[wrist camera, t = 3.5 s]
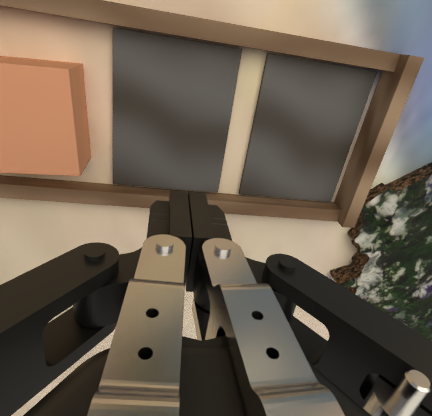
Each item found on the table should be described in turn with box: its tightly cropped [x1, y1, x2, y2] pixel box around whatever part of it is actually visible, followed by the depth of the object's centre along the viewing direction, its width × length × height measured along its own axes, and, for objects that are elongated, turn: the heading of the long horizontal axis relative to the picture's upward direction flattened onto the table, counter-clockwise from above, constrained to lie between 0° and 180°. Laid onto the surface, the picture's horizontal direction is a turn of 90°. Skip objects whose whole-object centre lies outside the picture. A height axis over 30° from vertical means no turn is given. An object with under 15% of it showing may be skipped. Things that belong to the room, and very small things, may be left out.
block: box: [0, 56, 91, 176], centre depth 22 cm, size 7×7×4 cm
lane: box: [0, 0, 424, 228], centre depth 22 cm, size 14×49×4 cm, turn 81°
